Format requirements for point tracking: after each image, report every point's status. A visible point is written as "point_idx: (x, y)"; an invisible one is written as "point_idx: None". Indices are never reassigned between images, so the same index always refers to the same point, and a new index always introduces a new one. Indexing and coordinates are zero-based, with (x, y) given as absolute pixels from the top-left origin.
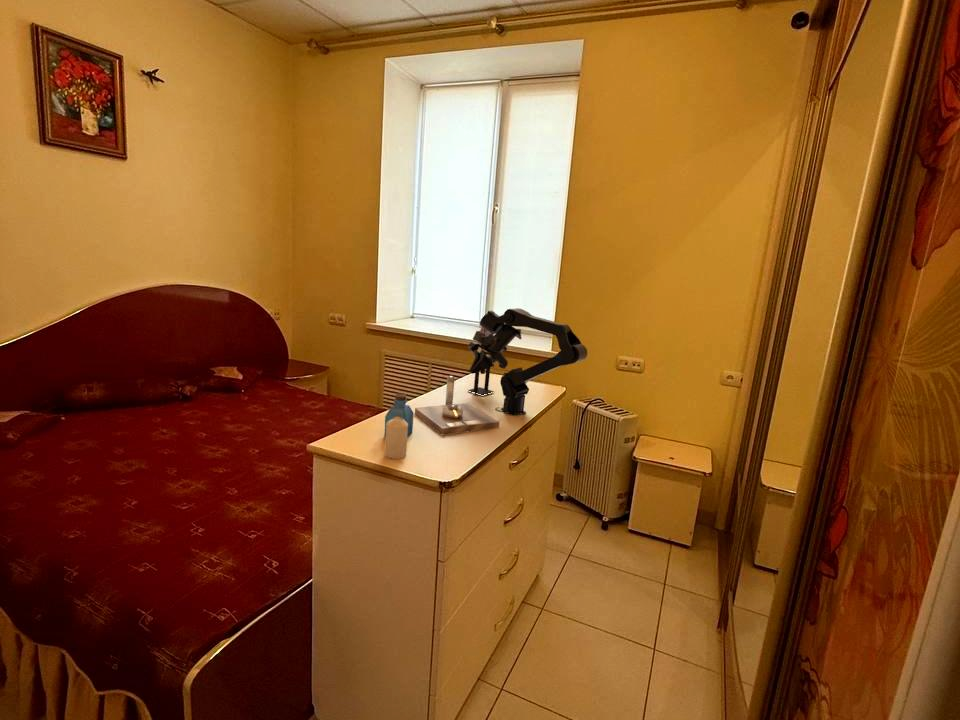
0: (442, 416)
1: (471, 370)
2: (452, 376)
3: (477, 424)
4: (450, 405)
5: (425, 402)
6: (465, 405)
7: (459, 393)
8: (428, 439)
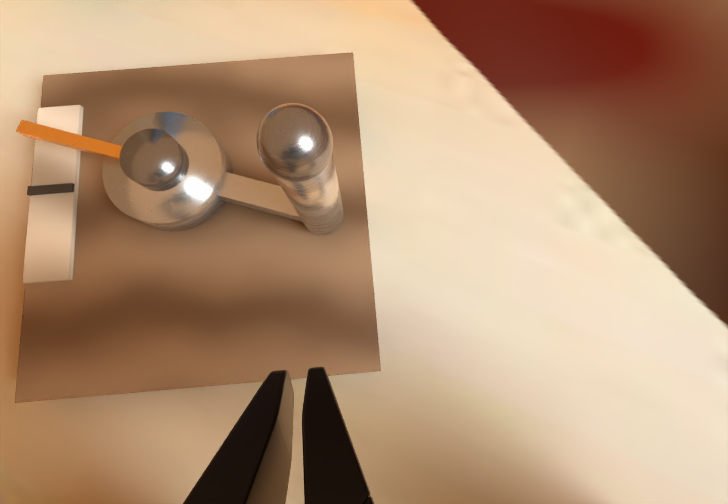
0: None
1: (275, 383)
2: (279, 136)
3: (28, 258)
4: (152, 139)
5: (515, 175)
6: (334, 330)
7: (682, 448)
8: (46, 31)
